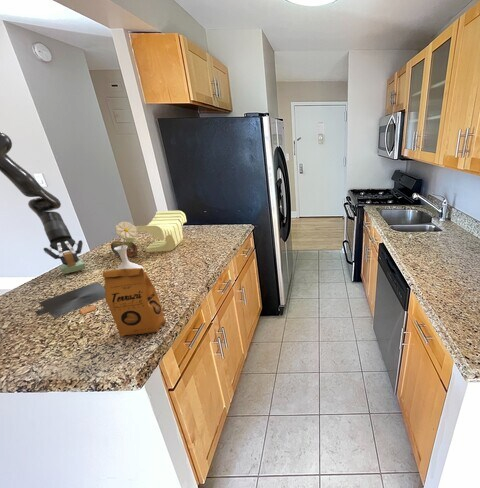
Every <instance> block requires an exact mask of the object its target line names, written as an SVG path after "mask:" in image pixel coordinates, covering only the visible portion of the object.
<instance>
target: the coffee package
mask: <svg viewBox="0 0 480 488" xmlns="http://www.w3.org/2000/svg"><path fill="white" fill-rule="evenodd" d="M102 277H103V278H104V285H105V293H106V295H105V296H106V298H104V299H105V302H106V305H107V306H108V309H109V312H110V315H111V316H112V319H113V321H114V323H115V326H116V329H117V331H118V335H119V337H123V336H131V335H143V334H149V333H150V334H151V333H157V332H159V330H160V329H161V327H162V325H163V324H165V323H166V318H165V315H164V310H163V306H162V303H161V300H160V298H159V296H158V292H157V291H156V288H155V285H154V284H153V283H152V281H151V279H150V278H149V276H148V274H147V272H145V270H144V268H143V269H142V268H133V269H118V270H116V269H111V270H104V271H102Z"/></svg>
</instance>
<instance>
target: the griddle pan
mask: <svg viewBox="0 0 480 488" xmlns="http://www.w3.org/2000/svg"><path fill="white" fill-rule="evenodd" d="M105 295H106V293H105V284H104V285H103V284H101V283H100V282H98V281H95V282H92V283H88V284H85V285H84V286H81V287H78V288H74V289H72V290H70V291H67V292H63V293H61V294H58V295H55V296H53V297H50V298H47V299H44V300H41V301H39V302H38V304H39V305H40V306H41V307H42V308H40V309H37V310H35V311H34V313H36V315H37V316H39V317H41V316H43V315H45V314H47V313H49V314H50V315H51V316H52V317H53V319H57V318H60V317H63V316H65V315H68V314H70V313H72V312H75V311H77V310H80V309H83V308H85V307H88V306H90V305H93V304H94V303H97V302H99V301H102V300H104V299H105V298H106V296H105Z"/></svg>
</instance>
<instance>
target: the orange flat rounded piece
mask: <svg viewBox="0 0 480 488" xmlns="http://www.w3.org/2000/svg"><path fill="white" fill-rule="evenodd" d="M97 309H98V308H96V305H95V304H91V305H88V306H85V307H82V308H80V309H79V311H80V313H81V315H82V316H83V315H86V314H88V313H91V312H94V311H97Z"/></svg>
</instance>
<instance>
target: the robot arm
mask: <svg viewBox="0 0 480 488" xmlns="http://www.w3.org/2000/svg"><path fill="white" fill-rule="evenodd" d="M12 147H13V141H12V139H11V138H10V137H9V135H7V134H6V133H4V132H1V131H0V173H2V174H3V175H4V176H5V177H6V178H7V179H8V180H9V182H11V183H12V184H13V185H14V187H15V188H16V189H17V190H18V191H19V192H20V193H21V194H22V195H23V196H25V197H27V198H32V199H30V200H29V201H28V202H27V206H28V208H29V209H30V210H31V211H32V212H33V213H35V215H36V216H37V217H38V218H39V220H40V221H41V224H42V226H43V230H44V232H45V235H46V237H47V239H48V241H49V243H50V244H49V246H47V247H43V251H44V253H45V254H46V255H48V256H50V257H51V258H52V259H54V260H60V261H61V263H62V264H65V265H68V264H67V262H66V260H65V257H64V255H63V253H65V252H70V251H71V253H72V255H73V257H74V260H75V262H76V263H77V262H78V261H79V260H80V258H79V256H78V255H79V254H82V250H83V244H84V243H83V240H82V239H81V240H75V239H74V238H73V237H72V235H71V233H70V230H69V229H68V227H67V225H66V223H65V222H64V220H63V217H62V215H61V214H60V213H59V212H58V211H55V210H59V209H60V208H61V206H62V204H61V201H60V200H59V198H57V197H56V196H55V195H53V193H50V192H49V191H47V190H46V189H45V188H44V187H43V186H42V185H41V184H40V183H39V182H38V181H37V180H36V178H35V177H34V176H33V175H32V174H30V173H29V172H28V171H27V170H26V169H25V168H23V167H22V166H20V164H18V163H16V162H15V161H14V160H13V159H12V158H11V157H10V156H9V155H8V153H9V152H10V151H11V150H12ZM75 245H76V246H77V248H76V250H75V249H74V246H75ZM53 250H55V251H57V252H58V254H57V253H55V252H54V251H53Z"/></svg>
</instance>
